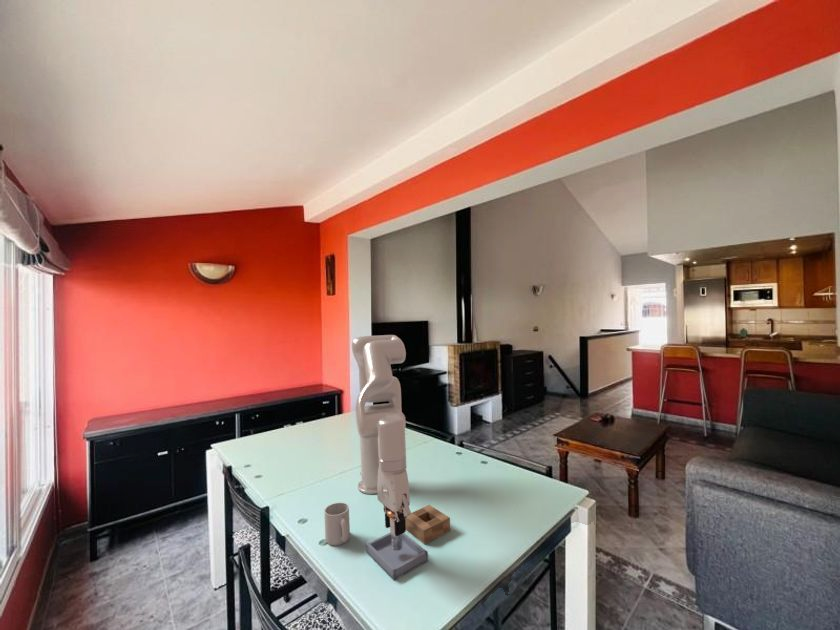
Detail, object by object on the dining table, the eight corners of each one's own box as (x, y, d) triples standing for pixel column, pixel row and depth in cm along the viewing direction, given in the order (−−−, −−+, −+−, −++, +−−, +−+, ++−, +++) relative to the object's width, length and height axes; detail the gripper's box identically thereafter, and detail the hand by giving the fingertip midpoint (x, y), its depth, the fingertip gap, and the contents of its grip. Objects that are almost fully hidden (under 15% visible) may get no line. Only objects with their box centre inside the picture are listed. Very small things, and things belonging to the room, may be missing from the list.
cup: (344, 528, 112) (342, 500, 112) (358, 544, 104) (357, 513, 104) (321, 537, 108) (320, 508, 108) (334, 554, 100) (333, 522, 100)
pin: (385, 547, 98) (383, 509, 98) (399, 540, 101) (397, 504, 101) (394, 554, 94) (392, 515, 95) (408, 547, 97) (405, 510, 97)
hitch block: (404, 529, 110) (404, 516, 110) (429, 517, 116) (429, 504, 117) (424, 544, 102) (423, 530, 103) (450, 530, 109) (449, 517, 109)
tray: (366, 552, 100) (366, 543, 100) (398, 536, 107) (398, 528, 107) (393, 580, 89) (393, 570, 89) (428, 560, 96) (427, 551, 96)
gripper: (365, 458, 102) (368, 522, 102) (398, 477, 89) (401, 550, 89) (388, 451, 107) (390, 512, 107) (422, 468, 94) (425, 538, 93)
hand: (395, 529), depth 98 cm, fingers closed on pin, 4 cm apart
